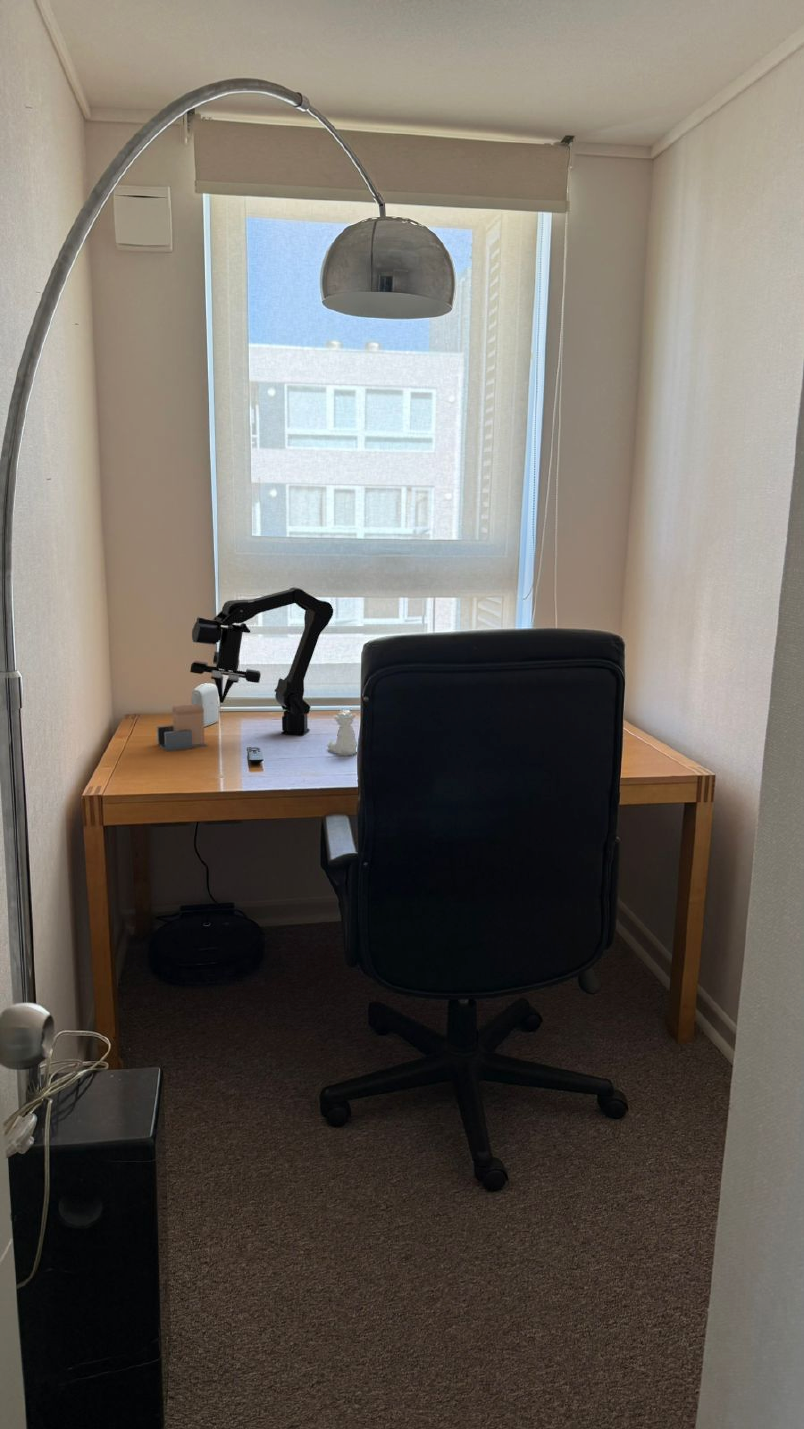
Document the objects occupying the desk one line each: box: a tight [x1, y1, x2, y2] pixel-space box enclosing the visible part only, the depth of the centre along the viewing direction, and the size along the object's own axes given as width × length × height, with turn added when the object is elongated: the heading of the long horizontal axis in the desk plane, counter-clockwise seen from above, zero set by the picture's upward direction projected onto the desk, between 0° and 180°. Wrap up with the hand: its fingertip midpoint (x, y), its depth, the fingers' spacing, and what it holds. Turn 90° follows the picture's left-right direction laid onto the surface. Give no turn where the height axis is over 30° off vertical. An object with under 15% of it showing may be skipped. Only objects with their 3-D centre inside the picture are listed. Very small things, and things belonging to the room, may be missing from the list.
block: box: [171, 704, 205, 745], centre depth 261 cm, size 7×5×10 cm
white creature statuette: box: [327, 709, 358, 757], centre depth 254 cm, size 10×9×12 cm
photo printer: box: [190, 682, 220, 728], centre depth 284 cm, size 10×4×12 cm, turn 160°
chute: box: [156, 724, 208, 752], centre depth 260 cm, size 12×8×5 cm
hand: (221, 702), depth 264 cm, fingers closed
